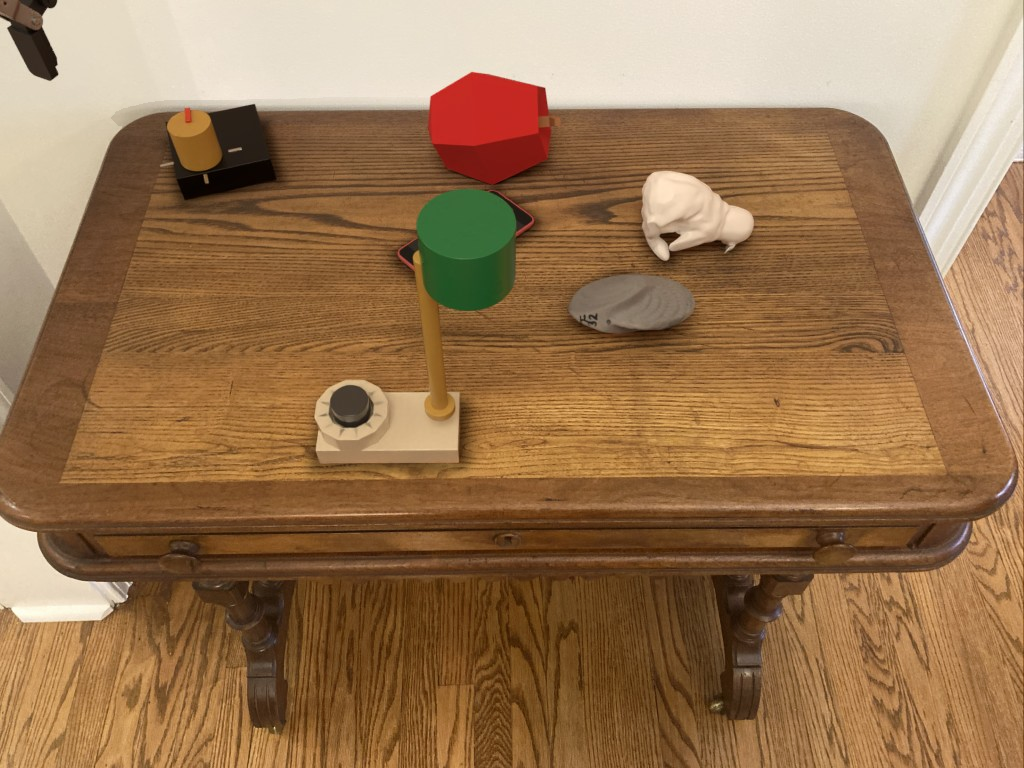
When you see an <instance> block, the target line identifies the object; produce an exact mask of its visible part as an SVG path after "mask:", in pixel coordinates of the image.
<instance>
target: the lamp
mask: <svg viewBox="0 0 1024 768" xmlns="http://www.w3.org/2000/svg"><path fill="white" fill-rule="evenodd" d="M487 191H488V190H487ZM487 191H486V190H483V189H476V188H459V189H452V190H448V191H445V192H443V193H440V194H438V195H436V196H434V197H433V198H430V200H429V201H427V202H426V203H425V204H424V205H423V207H422V208H421V209H420V211H419V213H418V215H417V217H416V222H415V224H416V225H415V226H416V227H415V228H416V238H417V237H418V246H419V250H418V251H417V252H415V253H414V255H413V264H414V271H415V272H414V271H413V272H414V278H415V286H416V294H417V301H418V303H417V304H418V310H419V319H420V327H421V334H422V341H423V342H422V343H423V349H424V359H425V366H426V374H427V381H428V392H430V395H429V396H428V397H427V398H426V399H425V402H424V408H425V413H426V415H427V416H428V417H429V418H430V419H432V420H435V421H444V420H447V419H449V418H450V417H451V416H452V415H453V414H454V412H455V400H454V398H453V396H452V395H450V394H449V393H447V392H448V387H447V380H446V370H445V358H444V349H443V338H442V329H441V327H442V326H441V319H440V318H441V317H440V305H441V306H443V307H445V308H447V309H451V310H454V311H460V312H477V311H481V310H485V309H489V308H491V307H493V306H495V305H497V304H498V303H500V302H502V301H503V300H504V299H505V298H506V297H507V296H508V295H509V294H510V293H511V291H512V289H513V287H514V286H515V281H516V275H517V273H516V271H517V270H516V268H517V267H516V266H517V265H516V263H517V261H516V260H517V237H516V218H515V214H514V212H513V210H512V209H511V207H510V206H509V205H508V204H507V203H506V202H505V201H504V200H503V199H501V198H500V197H498V196H497V195H494V194H492V193H490V192H487Z"/></svg>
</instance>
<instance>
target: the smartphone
mask: <svg viewBox="0 0 1024 768" xmlns="http://www.w3.org/2000/svg"><path fill="white" fill-rule="evenodd" d="M487 192H490V193H492V194H494V195H497V196H498V197H500V198H501V199H503V200H504V201H505V202H506V203H507V204H508V205H509V206H510V207H511V209H512V210H513V212H514V214H515V218H516V238H517V237H519V236H521V234H523V233H524V232H526V231H528V230H529V229H530V228H531V227H533V226H534V224H535V218H534V217H533V216H532V215H531V214H530V213H529V212H528V211H526V210H525V209H524V208H522V207H521V206H519V205H518V204H517V203H515V202H513V201H512V200H511V199H510V198H508V197H506V196H505V195H504V194H502V193H501V192H499V191H497V190H496V189H489V190H487ZM418 250H419V246H418V237H417V236H416V237H415V238H414V239H412V240H411V241H409V242H408V243H406V244H405V245H403V246H402V247H400V248H399V249H398V250H397V257H398V259H399V260H400V261H401V262H402V263H403V264H405V266H407V267H408V268H410V269H411V270H412V271H413V272H414V273H415V271H414V264H413V255H414V253H415V252H417V251H418Z"/></svg>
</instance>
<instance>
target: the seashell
mask: <svg viewBox="0 0 1024 768" xmlns="http://www.w3.org/2000/svg"><path fill="white" fill-rule="evenodd" d="M695 308H696V300H695V296H694V295H693V293H692V292H691V291H690V289H688V288H687V287H685V285H683V284H682V283H679V281H676V280H674V279H671V278H666V277H664V276H659V275H653V274H640V273H629V274H628V273H627V274H625V273H623V274H617V275H610V276H607V277H604V278H600V279H597V280H593V281H591V282H589V283H587V284H585V285H583V286H582V287H580V288H579V289H578V290H577V291H576V292H574V294H573V296H572V297H571V299H570V301H569V303H568V305H567V312H568V313H569V315H570V316H571V317H572V318H574V319H575V320H576V321H577V322H579V323H580V324H582V326H583V325H584V326H586V327H588V328H590V329H594V330H595V331H599V332H602V333H605V334H614V335H623V334H631V333H635V332H638V331H656V330H658V331H660V330H665V329H670V328H674V327H676V326H678V325H680V324H681V323H684V321H685V320H686V319H688V318H689V317H691V315H693V314H694V310H695Z"/></svg>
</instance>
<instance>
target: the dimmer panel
mask: <svg viewBox="0 0 1024 768" xmlns="http://www.w3.org/2000/svg"><path fill="white" fill-rule="evenodd" d="M257 109H258V108H257V106H256V104H255V103H252V104H246V105H241V106H235V107H232V108H226V109H222V110H216V111H212V112H208V113H207V114H208V115H209V117H210V119H211V122H212V125H213V127H214V130H215V133H216V136H217V139H218V142H219V145H220V148H221V151H222V159H221V161H220V162H219V163H218V164H217V165H216V166H214V167H213V168H210V169H208V170H204V171H191V170H188V169H186V168H184V167H183V166H182V164H181V162H180V159H179V157H178V154H177V152H176V149H175V147H174V144H173V142H172V139H171V136H170V134H169V131H168V129H167V124H168V122H169V120H168V121H165V122H164V123H165V128H166V131H167V132H166V133H167V139H168V144H169V149H170V155H171V159H172V161H171V162H166V163H162V164H159V166H160V168H167V167H172V166H173V170H174V176H175V180H176V182H177V185H178V187H179V190H180V192H181V194H182V198H183V199H184V201H188V200H192V199H193V200H194V199H198V198H201V197H207V196H210V195H214V194H219V193H223V192H224V193H225V192H229V191H233V190H238V189H242V188H246V187H250V186H251V187H252V186H255V185H256V186H257V185H260V184H264V183H269V182H273V181H274V182H275V181H277V176H276V171H275V168H274V165H273V162H272V157H271V154H270V151H269V147H268V143H267V140H266V137H265V133H264V130H263V126H262V123H261V120H260V117H259V113H258V110H257Z"/></svg>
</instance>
